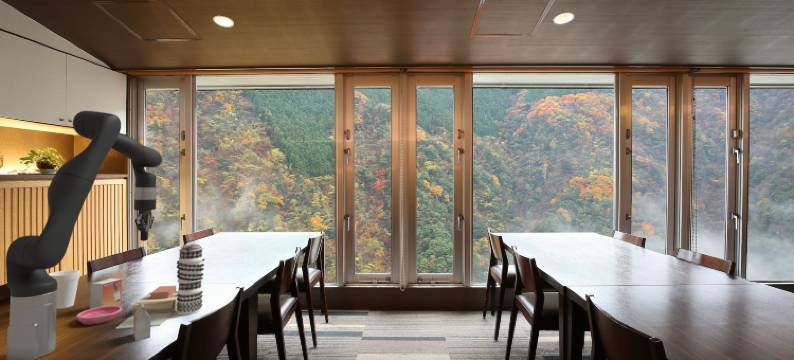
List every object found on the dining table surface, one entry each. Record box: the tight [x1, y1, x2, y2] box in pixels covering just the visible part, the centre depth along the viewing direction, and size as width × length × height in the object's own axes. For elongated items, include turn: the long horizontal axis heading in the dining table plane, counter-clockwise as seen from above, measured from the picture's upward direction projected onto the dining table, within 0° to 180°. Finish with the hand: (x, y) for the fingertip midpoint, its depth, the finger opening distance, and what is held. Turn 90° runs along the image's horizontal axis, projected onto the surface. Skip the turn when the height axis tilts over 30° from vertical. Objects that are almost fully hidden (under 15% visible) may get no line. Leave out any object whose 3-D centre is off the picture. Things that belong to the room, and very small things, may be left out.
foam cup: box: [48, 269, 81, 310], centre depth 139 cm, size 10×9×13 cm
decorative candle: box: [176, 244, 205, 316], centre depth 136 cm, size 9×9×25 cm
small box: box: [89, 277, 123, 309], centre depth 138 cm, size 8×6×10 cm
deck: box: [131, 290, 178, 316], centre depth 139 cm, size 16×13×4 cm
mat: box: [115, 313, 173, 330], centre depth 125 cm, size 12×13×1 cm
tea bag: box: [132, 302, 152, 342], centre depth 113 cm, size 4×7×10 cm, turn 42°
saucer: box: [75, 306, 123, 326], centre depth 126 cm, size 12×12×3 cm
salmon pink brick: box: [150, 285, 177, 299], centre depth 142 cm, size 9×6×2 cm, turn 15°
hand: (144, 240), depth 147 cm, fingers closed
